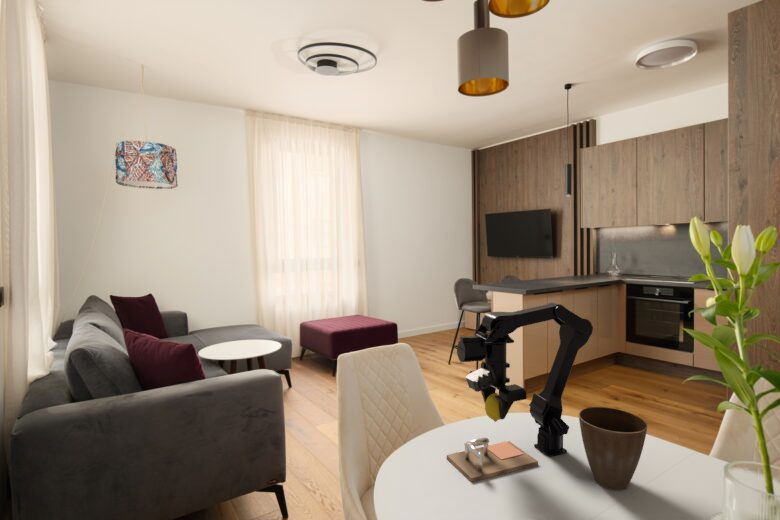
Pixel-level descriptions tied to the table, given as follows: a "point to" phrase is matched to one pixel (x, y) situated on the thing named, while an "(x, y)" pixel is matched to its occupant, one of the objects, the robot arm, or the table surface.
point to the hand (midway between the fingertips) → (495, 414)
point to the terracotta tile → (504, 450)
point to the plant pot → (612, 444)
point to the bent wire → (471, 447)
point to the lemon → (492, 407)
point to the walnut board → (490, 464)
